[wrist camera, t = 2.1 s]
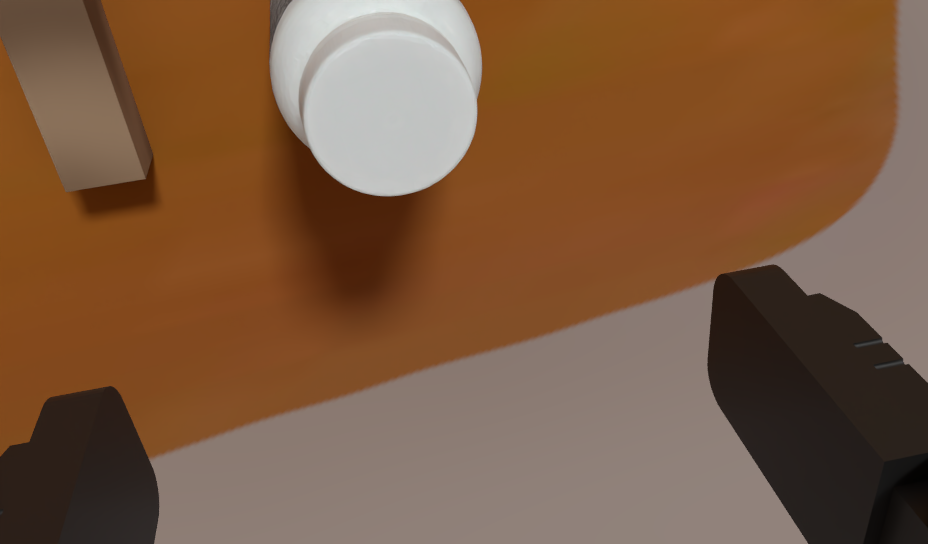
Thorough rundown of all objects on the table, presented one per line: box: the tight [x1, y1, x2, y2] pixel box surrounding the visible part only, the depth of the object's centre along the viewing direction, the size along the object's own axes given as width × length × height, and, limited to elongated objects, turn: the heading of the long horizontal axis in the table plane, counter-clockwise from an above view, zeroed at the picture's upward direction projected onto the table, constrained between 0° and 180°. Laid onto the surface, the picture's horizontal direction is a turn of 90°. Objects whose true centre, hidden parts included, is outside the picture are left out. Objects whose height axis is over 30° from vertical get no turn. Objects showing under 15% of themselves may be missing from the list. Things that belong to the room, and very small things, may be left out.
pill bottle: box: [269, 0, 482, 196], centre depth 22 cm, size 5×5×10 cm
